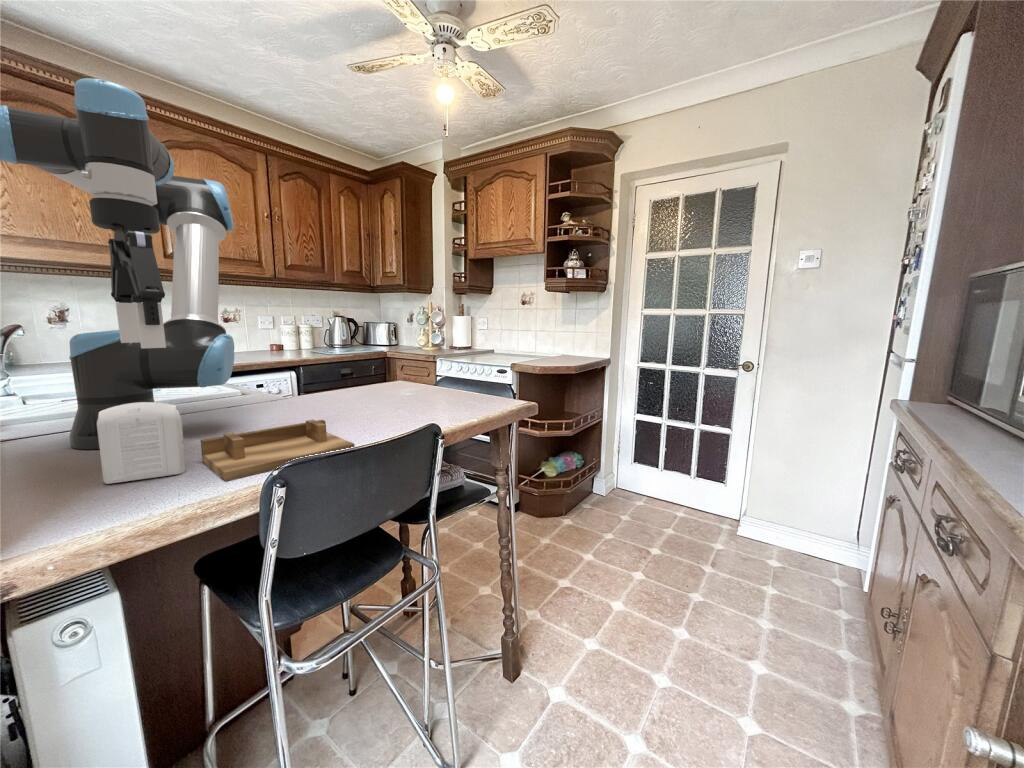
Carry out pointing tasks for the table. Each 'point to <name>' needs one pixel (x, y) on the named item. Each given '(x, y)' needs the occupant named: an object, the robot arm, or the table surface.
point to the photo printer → (140, 441)
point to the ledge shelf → (267, 448)
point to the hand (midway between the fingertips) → (142, 345)
